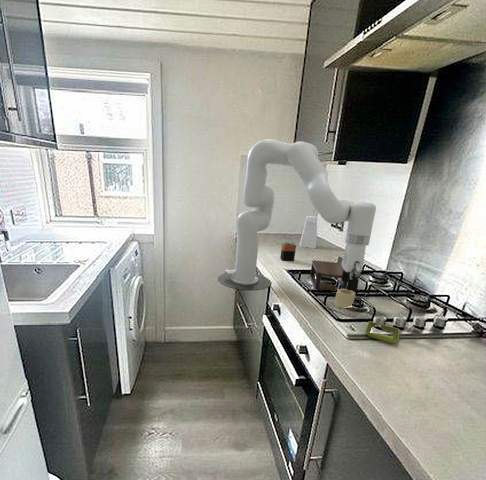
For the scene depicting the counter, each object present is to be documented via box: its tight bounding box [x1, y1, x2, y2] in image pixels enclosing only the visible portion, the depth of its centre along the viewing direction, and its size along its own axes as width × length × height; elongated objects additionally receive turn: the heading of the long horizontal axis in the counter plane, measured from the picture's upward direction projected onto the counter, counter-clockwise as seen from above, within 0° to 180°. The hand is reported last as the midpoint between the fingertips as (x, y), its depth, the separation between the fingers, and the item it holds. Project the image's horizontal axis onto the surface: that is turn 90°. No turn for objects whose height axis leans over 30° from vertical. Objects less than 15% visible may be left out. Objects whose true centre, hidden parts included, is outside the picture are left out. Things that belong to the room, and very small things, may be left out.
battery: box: [279, 241, 297, 262], centre depth 168 cm, size 4×7×10 cm, turn 96°
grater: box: [299, 215, 319, 249], centre depth 204 cm, size 10×10×20 cm
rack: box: [309, 256, 348, 291], centre depth 132 cm, size 12×20×11 cm, turn 168°
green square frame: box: [365, 320, 401, 344], centre depth 91 cm, size 9×9×2 cm
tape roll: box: [333, 288, 356, 309], centre depth 112 cm, size 6×6×6 cm
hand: (348, 285), depth 110 cm, fingers open, 9 cm apart
